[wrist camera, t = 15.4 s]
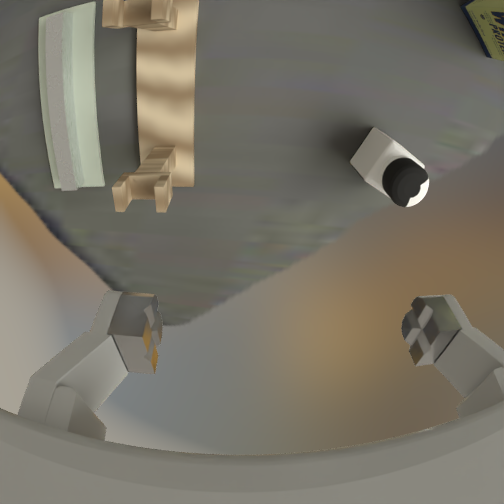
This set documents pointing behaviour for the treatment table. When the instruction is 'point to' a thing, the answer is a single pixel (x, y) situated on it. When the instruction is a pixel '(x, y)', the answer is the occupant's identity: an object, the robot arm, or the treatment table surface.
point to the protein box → (487, 25)
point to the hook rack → (160, 96)
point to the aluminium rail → (62, 100)
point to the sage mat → (76, 94)
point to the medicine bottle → (391, 169)
